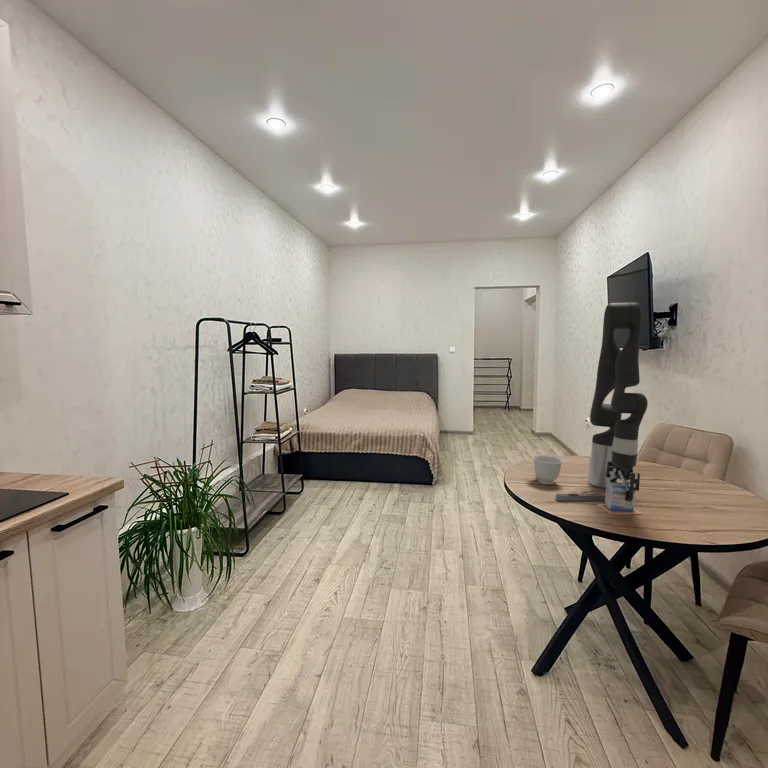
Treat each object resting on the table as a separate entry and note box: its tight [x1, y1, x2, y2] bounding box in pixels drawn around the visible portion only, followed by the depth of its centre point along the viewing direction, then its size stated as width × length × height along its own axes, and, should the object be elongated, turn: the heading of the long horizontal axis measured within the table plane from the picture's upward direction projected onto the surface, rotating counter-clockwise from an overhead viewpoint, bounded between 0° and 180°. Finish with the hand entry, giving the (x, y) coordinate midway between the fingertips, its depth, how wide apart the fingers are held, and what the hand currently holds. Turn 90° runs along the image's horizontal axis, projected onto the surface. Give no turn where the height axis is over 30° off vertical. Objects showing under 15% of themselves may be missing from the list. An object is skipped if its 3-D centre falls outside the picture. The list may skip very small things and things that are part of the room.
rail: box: [555, 493, 606, 502], centre depth 151 cm, size 2×24×4 cm, turn 94°
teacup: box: [531, 453, 564, 485], centre depth 171 cm, size 12×15×10 cm
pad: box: [596, 503, 643, 515], centre depth 144 cm, size 8×11×1 cm
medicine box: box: [604, 482, 636, 511], centre depth 143 cm, size 8×4×9 cm, turn 84°
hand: (620, 496), depth 143 cm, fingers open, 8 cm apart
